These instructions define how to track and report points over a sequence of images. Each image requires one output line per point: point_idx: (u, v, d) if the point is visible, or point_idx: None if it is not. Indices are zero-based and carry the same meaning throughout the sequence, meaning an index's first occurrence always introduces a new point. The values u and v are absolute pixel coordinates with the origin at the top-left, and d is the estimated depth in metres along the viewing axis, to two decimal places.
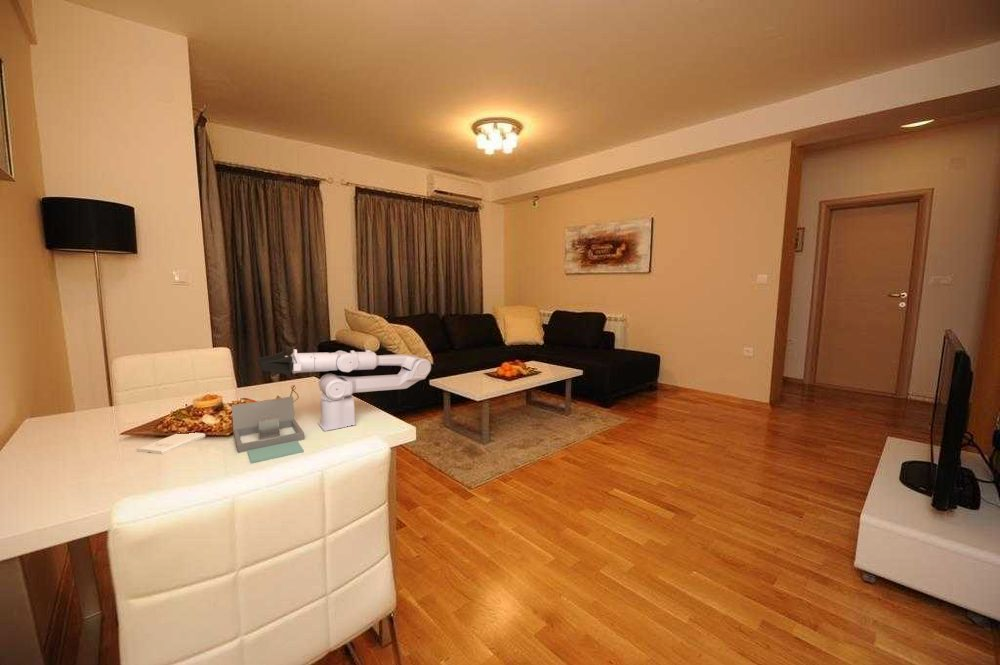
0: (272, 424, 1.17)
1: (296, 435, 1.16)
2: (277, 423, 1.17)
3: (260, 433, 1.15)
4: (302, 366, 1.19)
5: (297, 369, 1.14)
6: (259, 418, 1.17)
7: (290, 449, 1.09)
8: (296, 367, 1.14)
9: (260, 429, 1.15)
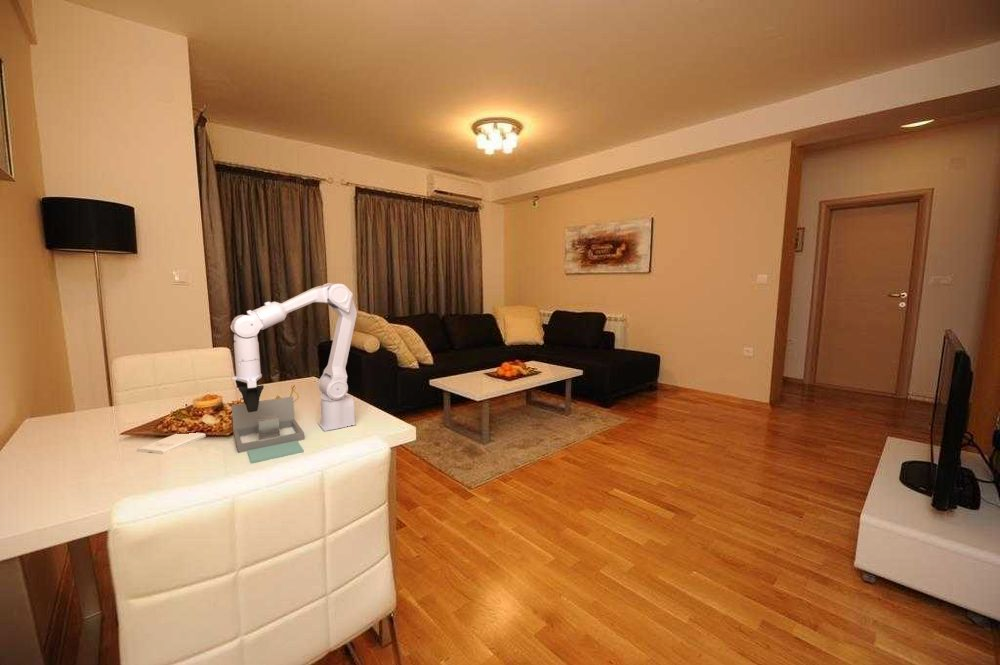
0: (272, 424, 1.17)
1: (296, 435, 1.16)
2: (277, 423, 1.17)
3: (260, 433, 1.15)
4: (252, 372, 1.10)
5: (254, 383, 1.07)
6: (259, 418, 1.17)
7: (290, 449, 1.09)
8: (252, 385, 1.07)
9: (260, 429, 1.15)
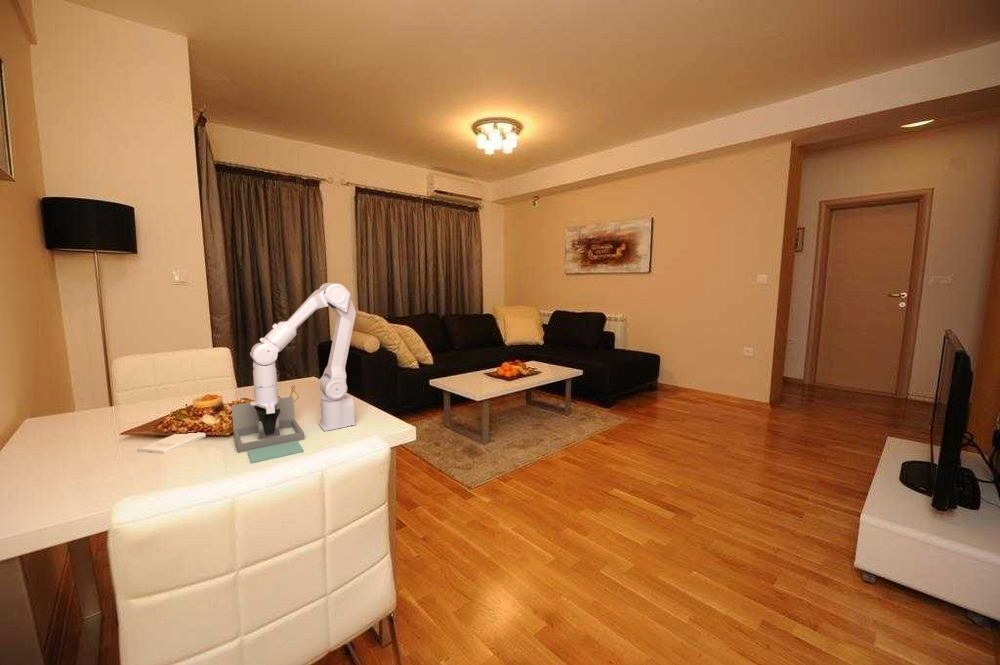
0: None
1: (296, 435, 1.16)
2: (277, 423, 1.17)
3: (260, 433, 1.15)
4: (270, 398, 1.15)
5: (273, 409, 1.11)
6: (259, 418, 1.17)
7: (290, 449, 1.09)
8: (270, 411, 1.11)
9: (260, 429, 1.15)
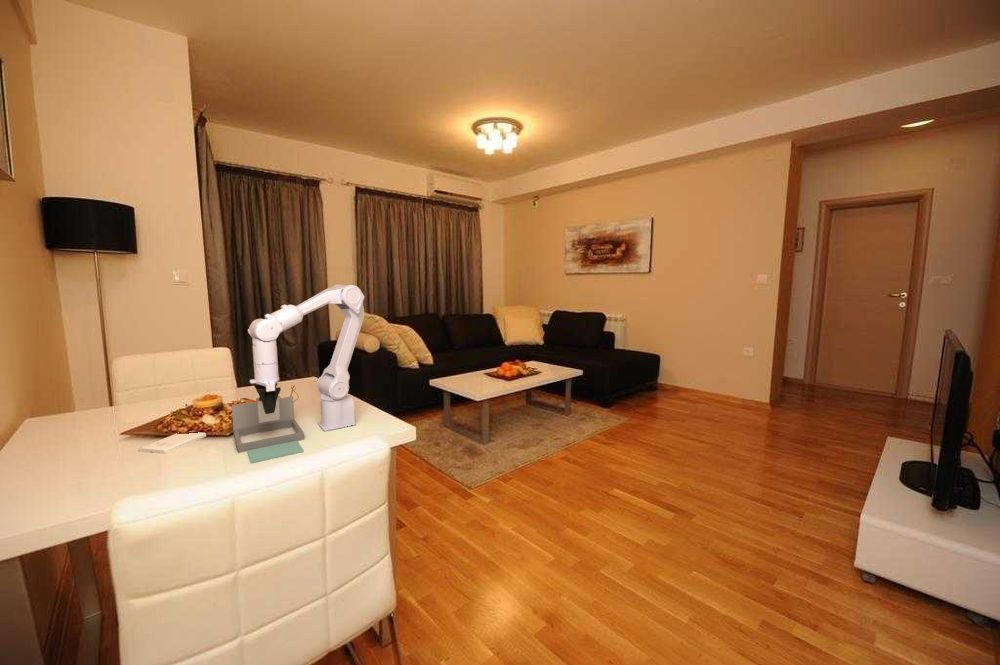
0: None
1: (296, 435, 1.16)
2: (277, 403, 1.14)
3: (259, 413, 1.11)
4: (270, 375, 1.11)
5: (273, 387, 1.08)
6: (258, 398, 1.13)
7: (290, 449, 1.09)
8: (270, 388, 1.08)
9: (259, 409, 1.11)
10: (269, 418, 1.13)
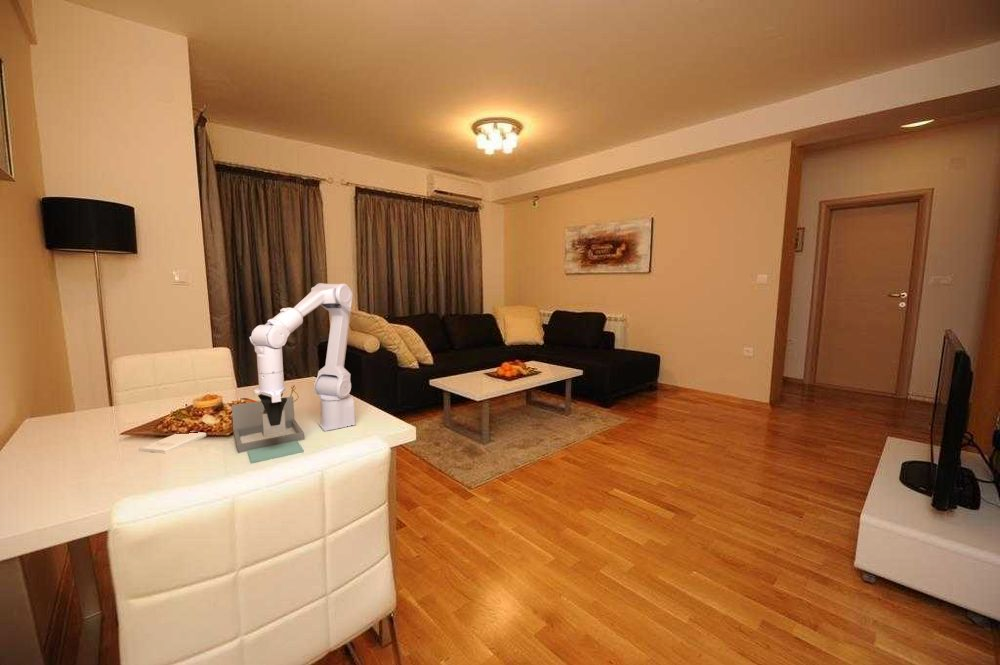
0: None
1: (296, 435, 1.16)
2: (283, 416, 1.07)
3: (264, 427, 1.05)
4: (275, 385, 1.04)
5: (279, 398, 1.01)
6: (263, 410, 1.07)
7: (290, 449, 1.09)
8: (276, 399, 1.01)
9: (264, 422, 1.05)
10: (274, 432, 1.06)
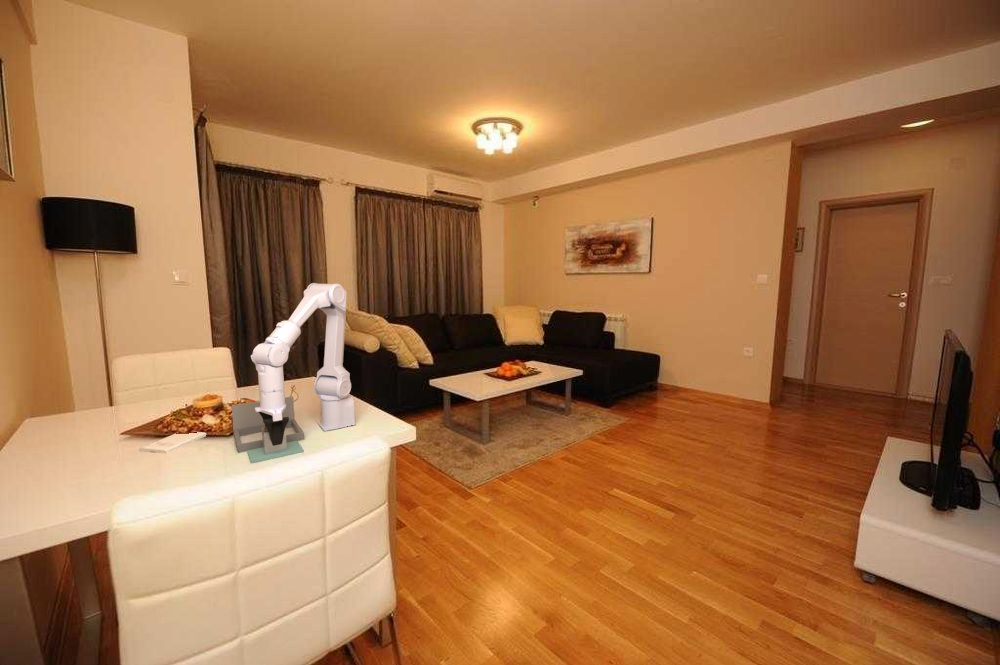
0: None
1: (296, 435, 1.16)
2: (284, 434, 1.08)
3: (265, 445, 1.05)
4: (277, 403, 1.05)
5: (280, 416, 1.02)
6: (264, 429, 1.07)
7: (290, 449, 1.09)
8: (277, 418, 1.01)
9: (265, 441, 1.05)
10: (276, 450, 1.07)
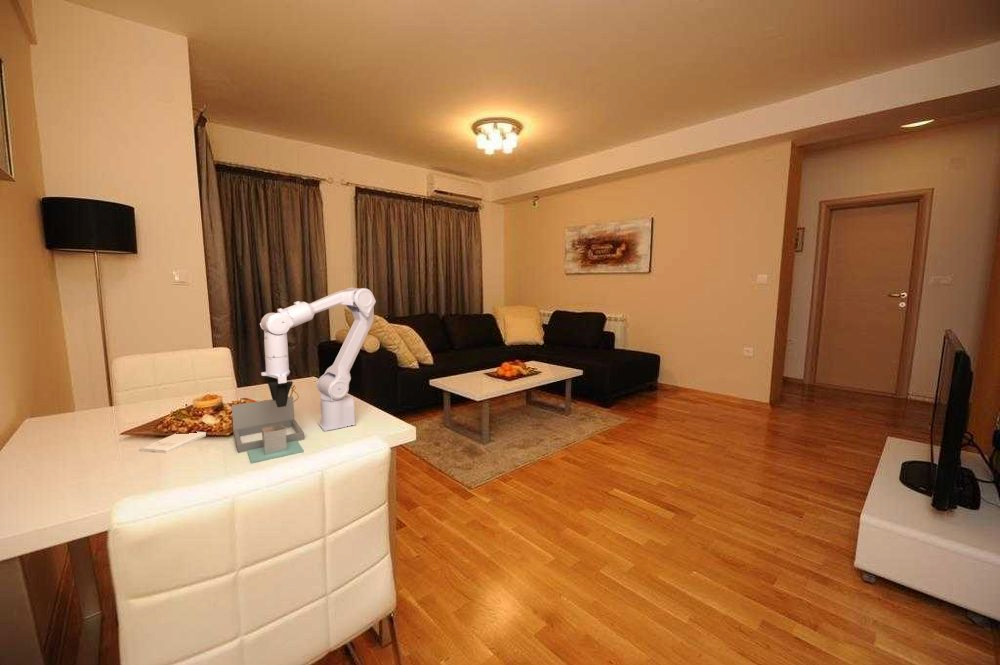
0: (278, 435, 1.07)
1: (296, 435, 1.16)
2: (284, 434, 1.08)
3: (265, 445, 1.05)
4: (281, 368, 1.14)
5: (284, 379, 1.10)
6: (264, 429, 1.07)
7: (290, 449, 1.09)
8: (282, 380, 1.10)
9: (265, 441, 1.05)
10: (276, 450, 1.07)
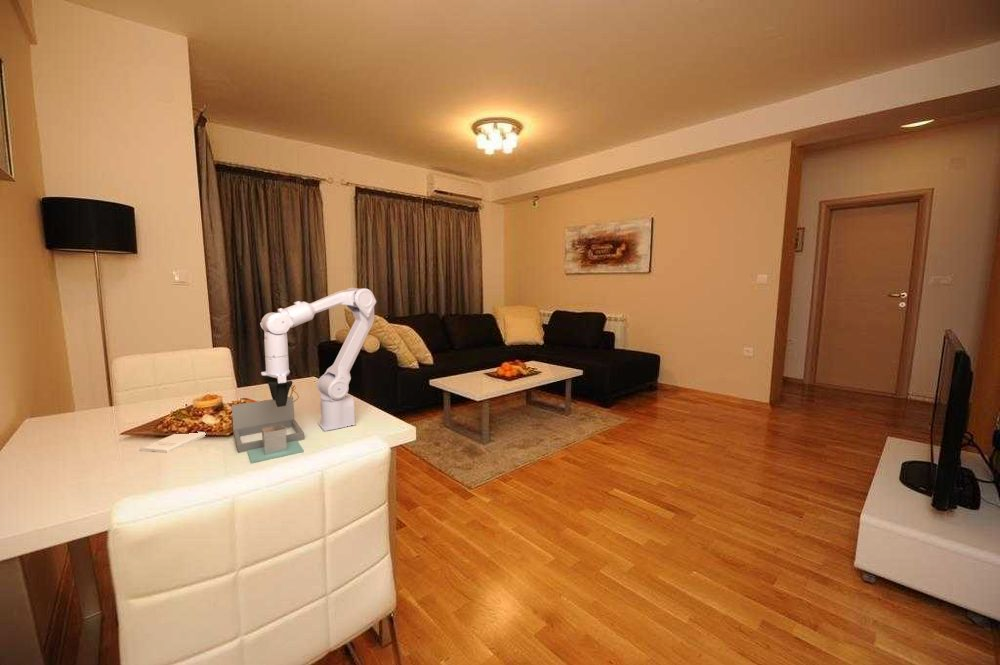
0: (278, 435, 1.07)
1: (296, 435, 1.16)
2: (284, 434, 1.08)
3: (265, 445, 1.05)
4: (281, 368, 1.14)
5: (284, 379, 1.10)
6: (264, 429, 1.07)
7: (290, 449, 1.09)
8: (282, 380, 1.10)
9: (265, 441, 1.05)
10: (276, 450, 1.07)
